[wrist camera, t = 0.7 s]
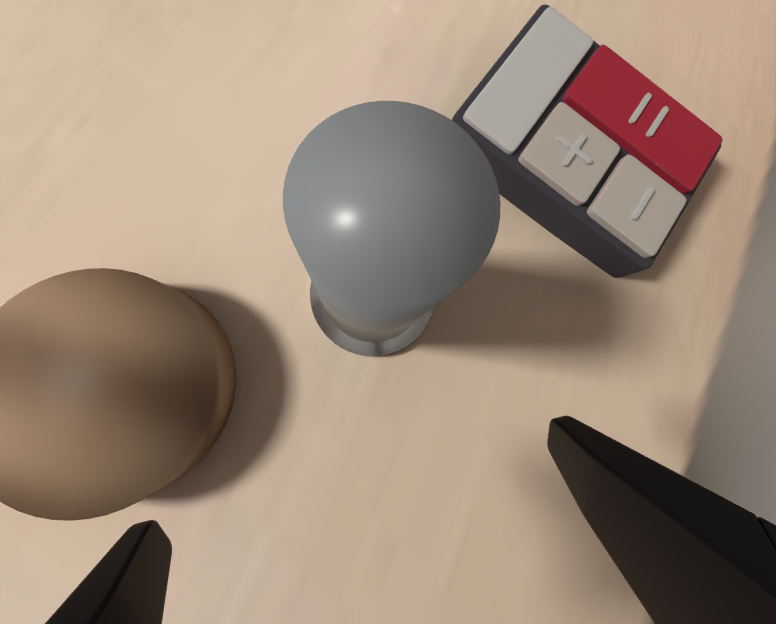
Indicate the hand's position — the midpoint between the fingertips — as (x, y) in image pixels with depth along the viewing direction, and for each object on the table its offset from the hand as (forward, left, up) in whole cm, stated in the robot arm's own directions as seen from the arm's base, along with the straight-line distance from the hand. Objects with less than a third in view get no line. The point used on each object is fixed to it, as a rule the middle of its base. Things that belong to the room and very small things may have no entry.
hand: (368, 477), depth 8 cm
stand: (-2, +13, -14) cm, 19 cm away
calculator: (+20, -9, -14) cm, 26 cm away
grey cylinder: (+7, +1, -14) cm, 15 cm away
